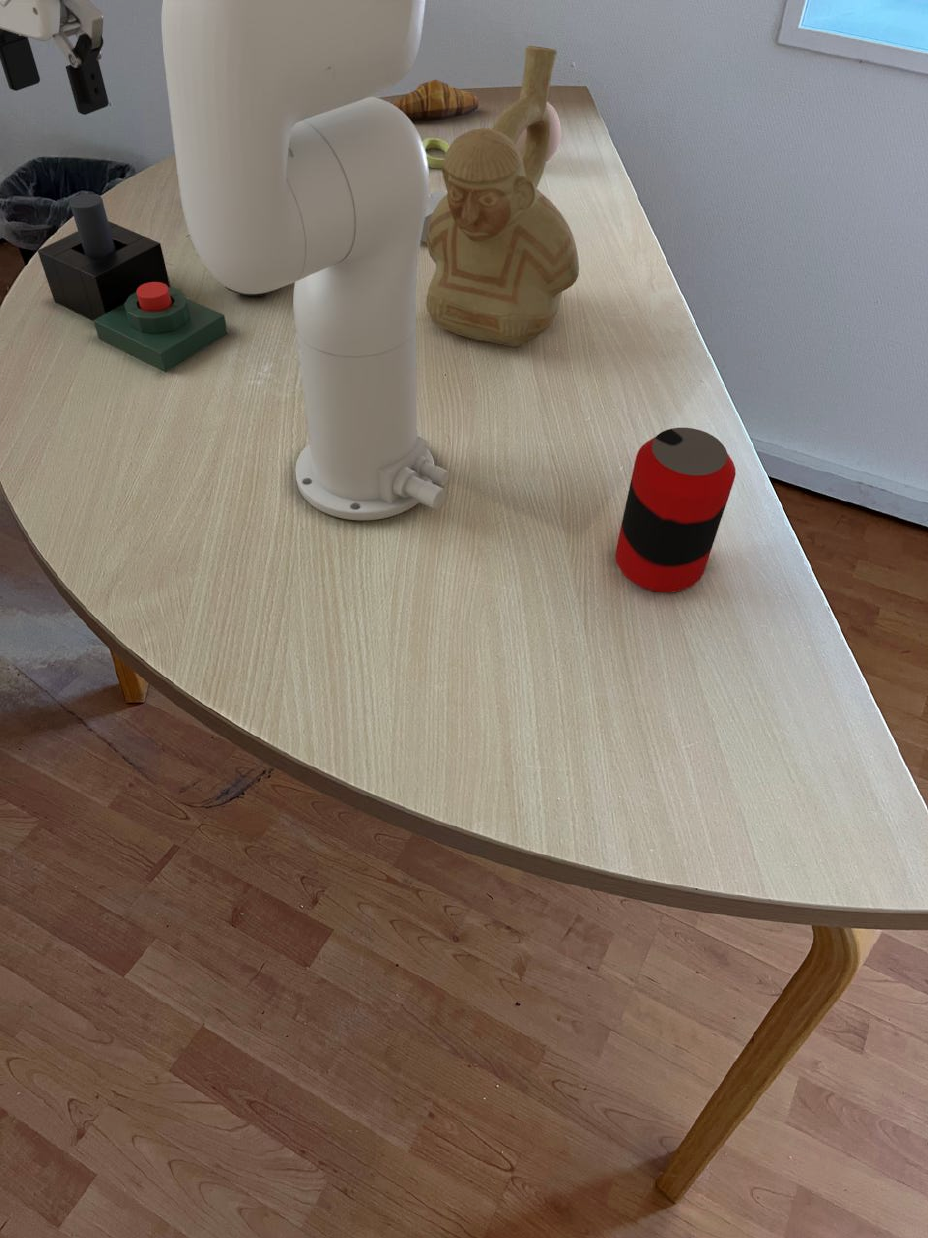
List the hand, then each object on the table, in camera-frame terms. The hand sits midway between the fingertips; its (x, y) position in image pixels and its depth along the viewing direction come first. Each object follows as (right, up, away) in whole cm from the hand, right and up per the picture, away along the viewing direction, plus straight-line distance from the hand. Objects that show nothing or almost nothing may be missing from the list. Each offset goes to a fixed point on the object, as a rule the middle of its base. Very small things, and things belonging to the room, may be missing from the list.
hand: (59, 97), depth 88 cm
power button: (+6, -17, +8) cm, 20 cm away
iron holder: (-1, -13, +16) cm, 21 cm away
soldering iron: (-1, -13, +16) cm, 21 cm away
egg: (+48, +14, +42) cm, 65 cm away
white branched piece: (+39, -1, +28) cm, 48 cm away
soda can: (+55, -45, -9) cm, 71 cm away
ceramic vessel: (+42, -16, +16) cm, 48 cm away
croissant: (+34, +26, +52) cm, 67 cm away
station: (+6, -19, +11) cm, 23 cm away
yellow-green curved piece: (+31, +15, +42) cm, 54 cm away
